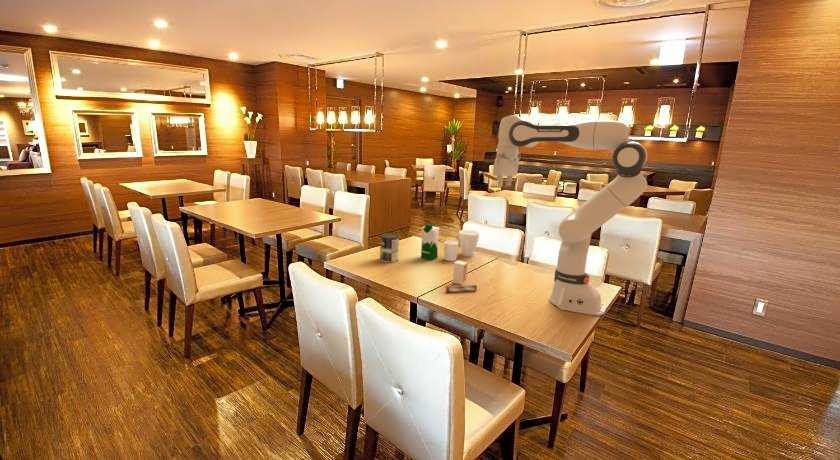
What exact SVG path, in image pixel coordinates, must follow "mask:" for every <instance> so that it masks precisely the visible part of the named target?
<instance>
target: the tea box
mask: <svg viewBox="0 0 840 460" xmlns="http://www.w3.org/2000/svg"><path fill="white" fill-rule="evenodd" d="M467 270H468V262H466V261H462V260H455V261H453V273H452V283H453V284H458V285H460V286H463V285H464V284H466V283H467Z"/></svg>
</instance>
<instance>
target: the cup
mask: <svg viewBox="0 0 840 460" xmlns="http://www.w3.org/2000/svg"><path fill="white" fill-rule="evenodd" d="M479 239H480V232H479V231H477V230H471V229H466V230H464V229H463V230H460V231H458V240H459V244H460V250H461V255H462V256H465V257H472V256H475V255H474V254H475V251H476V248H477V245H478V241H479Z"/></svg>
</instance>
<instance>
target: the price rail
mask: <svg viewBox="0 0 840 460" xmlns="http://www.w3.org/2000/svg"><path fill="white" fill-rule="evenodd" d="M477 287H478V286H477V284H468V285H467V284H465V285H464V284H463V285H449V286H445V292H446V293H447V294H448V293H462V292H463V293H464V292H466V293H468V292H477V291H478V290H477Z"/></svg>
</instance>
